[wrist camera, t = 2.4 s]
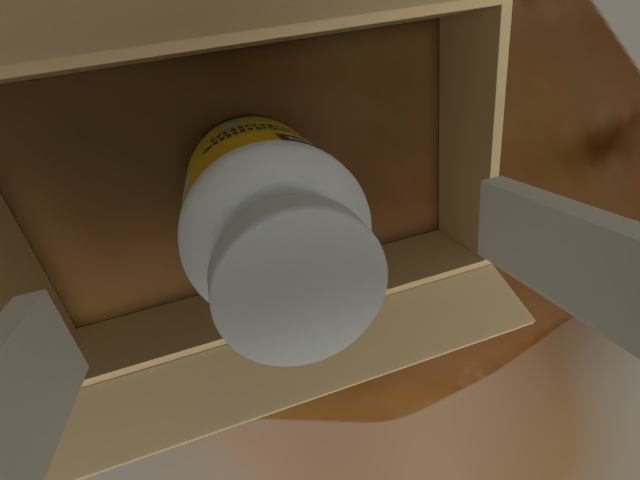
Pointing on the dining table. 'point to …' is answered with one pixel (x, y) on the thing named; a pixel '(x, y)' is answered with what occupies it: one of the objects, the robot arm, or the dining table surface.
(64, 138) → the dining table surface
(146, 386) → the carton
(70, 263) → the dining table surface
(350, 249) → the pill bottle
